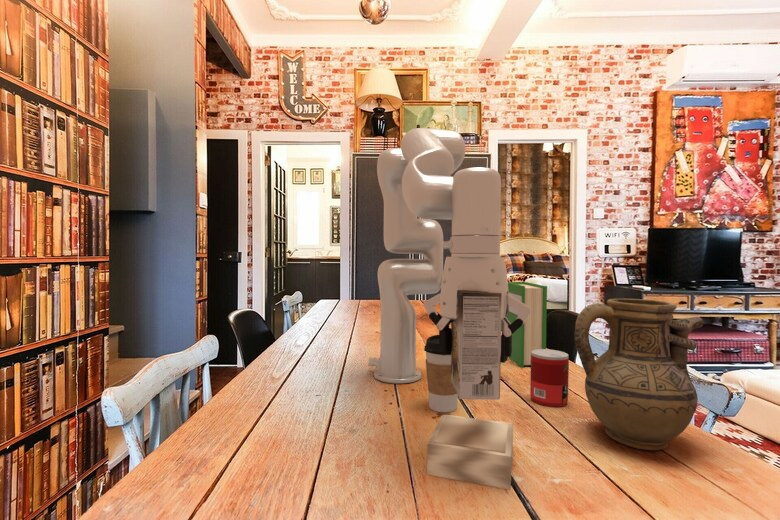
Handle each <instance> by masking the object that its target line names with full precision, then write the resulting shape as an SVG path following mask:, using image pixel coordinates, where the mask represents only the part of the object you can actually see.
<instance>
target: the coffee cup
mask: <svg viewBox="0 0 780 520" xmlns="http://www.w3.org/2000/svg"><path fill="white" fill-rule="evenodd" d="M423 350H424V351H425V358H426V359H425V368H426V369H425V371H426V382H427V390H428V407H429V409H430V410H432V411H433V412H439V413H451V412H455V411H456V410H457V409H458V408H457V406H458V399H459V397H458V395H457V392H456V390H455V388H454V386H453V384H452V382H451V352H450V353H448V354H447V355H441V349H440V348H439V334H435V335H430V336H429V337H427V338H426V341H425V345H424V348H423Z"/></svg>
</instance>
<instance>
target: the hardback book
mask: <svg viewBox="0 0 780 520" xmlns="http://www.w3.org/2000/svg"><path fill="white" fill-rule="evenodd" d="M508 293H509V295H511V296H513V297H514V298H516V299H517V300H519V301H521V302H522V303H524V304H525V305H527V306H529V307H530V308H531V309H532V311H531V313H530V315H529V316H528V318H527V319H526V321H525V322H524V324H523V325H522V326H521V327H520V328H519V329H517V330H516V331H515V332H514V333H513V334H512V354H511V357H509V358H508V359H509V360H511V361H512V362H513V363H514V362H515V363H516V364H515V363H514V364H515V365H517V366H518V367H519V368H520V369H523V368H525V367H524V366H531V351H533V350H537V349H547V313H548V312H547V307H548V306H547V305H548V304H547V303H548V286H547V285H541V284H537V283H533V282H528V281H508ZM518 315H519V312H518V310H516V309H514V308H513V307H511V306H510V305H509V312H508V316H507V317H506V318H507V319H508V321H509V322H510V323H513V322H514V321H515V320H516V318H517V317H518Z"/></svg>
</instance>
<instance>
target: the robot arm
mask: <svg viewBox="0 0 780 520" xmlns="http://www.w3.org/2000/svg"><path fill="white" fill-rule="evenodd" d="M465 157H466V141H465V140H464V137H463V136H462V135H461V134H460V133H459V132H458V131H455V130H449V129H442V128H441V129H439V128H427V127H418V128H417V127H416V128H413V129H410V130H409V131H407V132H406V133H405V134H404V135H403V136H402V139H401V141H400V147H391V148H386V149H385V150H382V151H381V152H380V154H379V155H378V158H377V162H376V172H377V178H378V179H377V181H378V185H379V187H380V190H381V191H380V192H381V195H382V198H383V199H382V200H383V245H384V248H385V250H386V251H387V252H389V253H392V254H401V255H403V254H404V255H406V254H407V255H408V254H409V255H412V254H413V255H422V256H423V257H422V258H390V259H386V260H384V261H382V262H381V263H380V264H379V266H378V269H377V282H378V288H379V298H380V300H379V301H380V334H379V335H380V336H379V337H380V341H379V342H380V343H379V344H380V345H379V346H380V350H379V351H380V352H379V353H380V354H379V355H380V356H379V358H377V357H371V356H370V357H369V359H368V360H367V361H368V362H367V363H368V366H369V367H375V368H376V369H375V370H374V372H373V373H374V374H373V375H374V376H373V377H374V378H375V379H376V380H378V381H380V382H383V383H388V384H408V383H415V382H417V381H419V380H420V379H421V378H422V372H421V370H419V369H417V368H416V366H417V364H416V363H417V361H416V359H417V357H416V355H417V353H416V352H417V349H416V348H417V311H416V308H415V306H414V305H413V303H412V302H411V301H410V299H409V298H408V296H409V295H410V296H411V295H432V294H436V295H434V296H433V297H431V298H429V299H426V301H424V302H423V303H422V304H423V307H424V309H425V311H426V313H427V315H428V319H430V320H431V321H432V323H433V324H434V325H435V326H436V327H435V328H436V329H437V330H438V335H439V348H440V349H441V355H447V354H448V353H450V352H451V344H452V329H451V327H450V326H451V322H452V319H453V320H456V304H457V290H468V291H469V290H470V291H482V292H489V293H502V306H501V320H502V321H501V364H505V363H506V362H507V360H508V359H509V358H508V357H511V354H512V334H513V333H514V332H515V331H516V330H517V329H519V328H520V327H521V326H522V325H523V324H524V322H525V321H526V319H527V318H528V316H529V315H530V313H531V311H532V309H531V308H530V307H529V306H527V305H525V304H524V303H522V302H521V301H519V300H517V299H516V298H514V297H513V296H511V295H509V293H508V282H509V281H508V272H507V265H506V260H505V257H504V256H501V214H502V213H501V210H502V209H501V207H502V206H501V203H502V201H501V199H502V196H501V195H502V191H501V190H502V179H501V174H500V172H498V171H497V170H496V169H494V168H490V167H483V166H482V167H479V166H478V167H468V168H463V169H460V170H458V169H459V167H460V166H461V165H462V163H463V161H464V159H465ZM457 170H458V171H457ZM455 171H456V172H455ZM454 172H455V174H454ZM452 174H453V176H452ZM437 220H445V221H446V220H449V221H450V220H451V236H450V237H449V238H450V239H448V240H444V233H443V228H442V226H441V224H440V223H439V222H438V221H437ZM444 250H448V251H449V252H450V253H451V255H450V256H446V257H445V261H444ZM439 291H440V293H438V292H439ZM437 304H439V312H440V313H439V312H438V310H437V308H436V306H437ZM509 305H510V306H511V307H513V308H514V309H516V310H518V312H519V315H518V317H517V318H516V320H515V321H514V322H513V323H510V322H509V321H508V319H507V318H506V317H507V316H508V312H509Z"/></svg>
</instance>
